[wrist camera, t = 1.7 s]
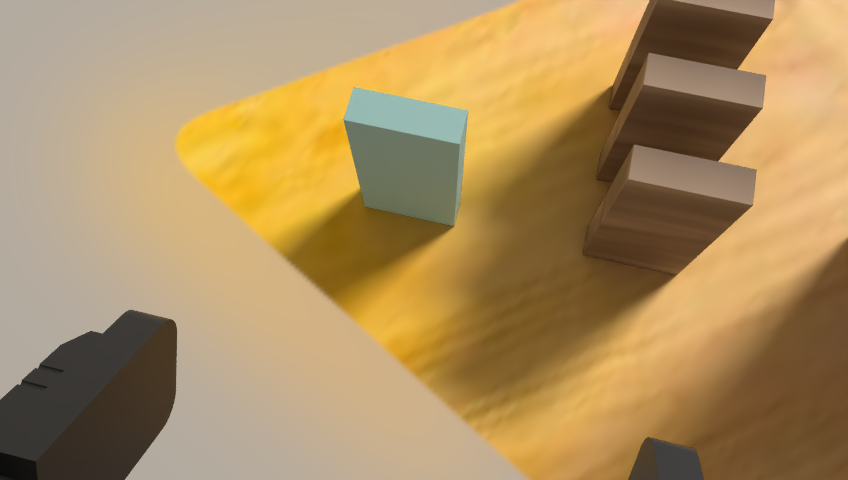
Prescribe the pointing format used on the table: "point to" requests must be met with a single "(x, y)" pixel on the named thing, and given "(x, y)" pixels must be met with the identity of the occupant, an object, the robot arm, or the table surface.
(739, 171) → the domino
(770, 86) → the table surface
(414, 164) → the teal domino
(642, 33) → the domino
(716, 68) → the domino
